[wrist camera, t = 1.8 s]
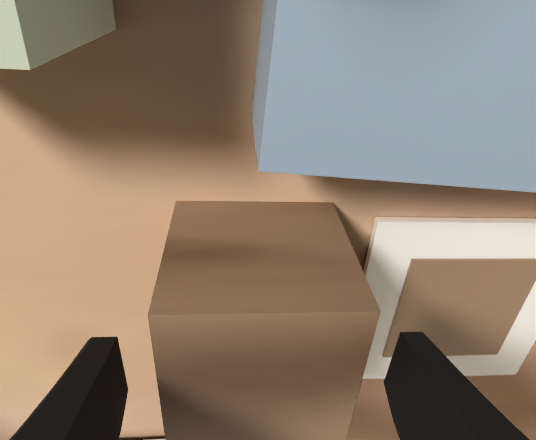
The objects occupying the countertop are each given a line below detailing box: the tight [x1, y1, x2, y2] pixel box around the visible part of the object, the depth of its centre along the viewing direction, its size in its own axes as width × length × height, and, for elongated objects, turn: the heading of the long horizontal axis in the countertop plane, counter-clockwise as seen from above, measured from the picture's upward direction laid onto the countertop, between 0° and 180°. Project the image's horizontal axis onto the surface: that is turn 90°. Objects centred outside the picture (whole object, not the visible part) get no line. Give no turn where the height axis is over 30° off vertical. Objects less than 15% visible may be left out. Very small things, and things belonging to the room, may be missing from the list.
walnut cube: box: [148, 201, 381, 440], centre depth 12 cm, size 5×5×5 cm
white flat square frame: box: [362, 217, 536, 379], centre depth 16 cm, size 8×8×1 cm
